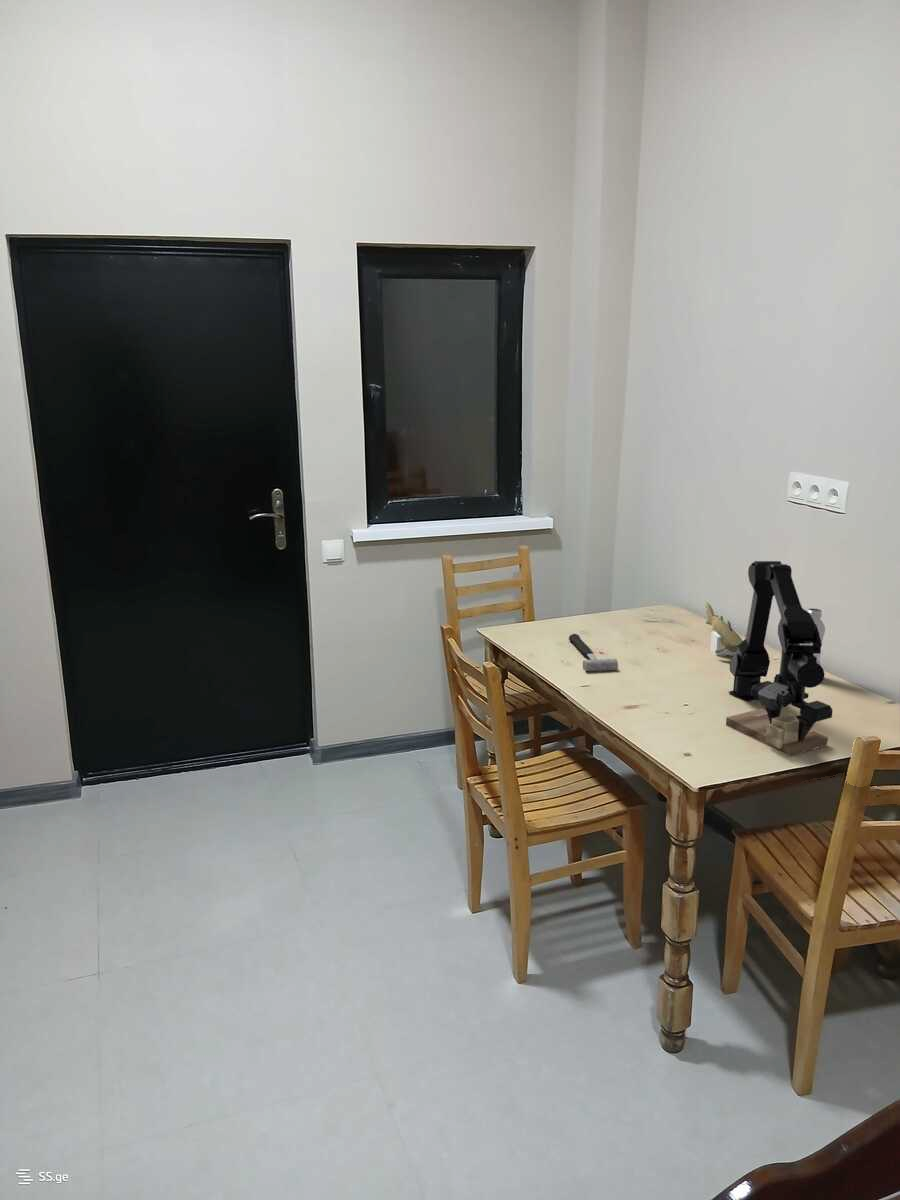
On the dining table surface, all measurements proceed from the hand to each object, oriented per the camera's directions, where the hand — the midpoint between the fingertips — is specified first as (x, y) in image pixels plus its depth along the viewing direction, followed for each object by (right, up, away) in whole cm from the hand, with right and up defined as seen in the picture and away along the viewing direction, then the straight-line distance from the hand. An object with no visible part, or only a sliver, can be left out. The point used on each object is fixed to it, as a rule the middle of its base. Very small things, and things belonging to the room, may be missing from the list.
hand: (786, 734), depth 194 cm
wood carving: (+7, +15, +69) cm, 71 cm away
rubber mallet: (-36, +13, +66) cm, 76 cm away
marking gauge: (+1, -1, +1) cm, 2 cm away
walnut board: (0, -1, +7) cm, 7 cm away
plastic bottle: (+24, +9, +45) cm, 52 cm away
